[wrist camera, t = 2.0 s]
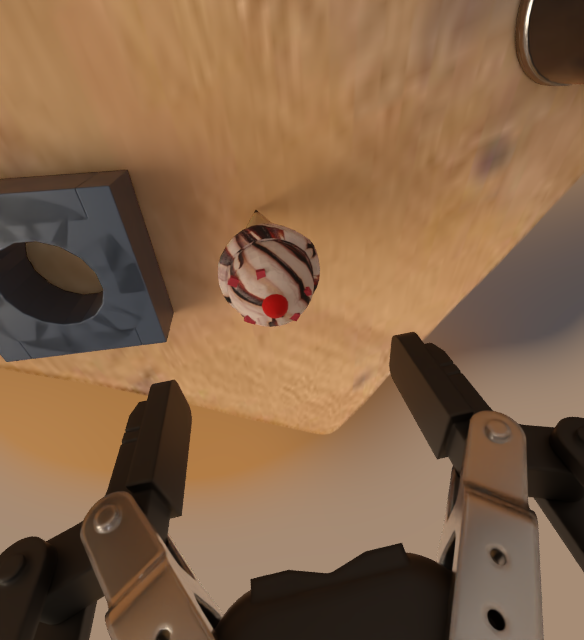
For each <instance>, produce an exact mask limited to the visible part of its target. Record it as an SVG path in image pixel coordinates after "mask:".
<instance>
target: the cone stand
mask: <svg viewBox="0 0 584 640" xmlns="http://www.w3.org/2000/svg"><path fill="white" fill-rule="evenodd" d="M33 241H37V242H41V243H46V244H50V245H54V246H59V247H61V248H63V249H65V250H67V251H68V252H70V253H72V254H74V255H76V256H78V257H79V258H81V259H82V260H83V261H84V262H85V263H86V264H87V265H88V266H89V267H90V268H91V269H92V270H93V271H94V272H95V273H96V275H97V277H98V279H99V281H100V283H101V286H102V288H103V291H102V292H100V293H96V294H87V295H82V294H77V293H72V292H66V291H64V290H62V289H60V288H58V287H56V286H54V285H52V284H49V283H48V282H47V281H46V280H45V279H44V278H42V277H41V276H40V275H39V274H38V273H37V272H36V271H35V270H34V269H33V267H32V265H31V264H30V262H29V260H28V259H27V257H26V249H25V242H33ZM173 313H174V312H173V309H172V306H171V303H170V300H169V297H168V294H167V290H166V287H165V284H164V281H163V278H162V275H161V272H160V269H159V266H158V263H157V260H156V257H155V254H154V250H153V247H152V244H151V241H150V238H149V235H148V232H147V229H146V226H145V223H144V220H143V217H142V214H141V210H140V207H139V204H138V201H137V198H136V195H135V192H134V189H133V186H132V183H131V180H130V177H129V174H128V171H127V170H121V171H107V172H99V173H98V172H93V173H79V174H65V175H51V176H37V177H23V178H9V179H0V355H1V356H2V357H3V358H4V360H5V361H6V362H11V361H19V360H27V359H32V358H33V359H35V358H43V357H51V356H59V355H67V354H75V353H83V352H91V351H99V350H107V349H115V348H123V347H131V346H139V345H142V344H143V345H147V344H155V343H163V342H167V338H168V334H169V330H170V325H171V321H172V317H173Z"/></svg>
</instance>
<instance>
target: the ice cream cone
mask: <svg viewBox="0 0 584 640" xmlns="http://www.w3.org/2000/svg"><path fill="white" fill-rule="evenodd" d="M319 275H320V266H319V259H318V255H317V252H316V249H315V247H314V245H313V244H312V242H311V241H310V240H309V239H308V238H306V237H305V236H303V235H302V234H300V233H298V232H296V231H295V230H292V229H290V228H287V227H285V226H281V225H276V224H272V223H271V222H270V221H269V220H267V219H266V218H265V217H264V216H263V215H262V214H260V213H259V212H258V211H257V210H255V212H254V214H253V216H252V218H251V220H250V221H249V223H248V225H247V227H246V229H244V230H242V231H241V232H239V233H238V234H237V235H235V236H234V237H233V238H232V239H231V241H230V242H229V243H228V244H227V246H226V247H225V249H224V251H223V253H222V255H221V257H220V260H219V263H218V279H219V286H220V289H221V291H222V294H223V296H224V297H225V299H226V300H227V302H228V303H229V304H230V305H231V306H232V307H233V308H235V309H236V310H237V311H238V312H239V313H240V314H241V315H242V316H243V317H244V321H245V322H248V323H251V324H254V325H255V324H257V325H262V326H270V327H272V326H280V325H284V324H287V323H289V322H291V321H293V320H294V321H297V320H298V318H299V317H300V315H301V314H302V313H303V312H304V310H305V309H306V308H307V306H308V304H309V302H310V301H311V298H312V295H313V293H314V292H315V290H316V288H317V285H318V281H319Z"/></svg>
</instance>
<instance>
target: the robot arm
mask: <svg viewBox="0 0 584 640" xmlns="http://www.w3.org/2000/svg"><path fill="white" fill-rule="evenodd" d="M515 41H516V51H517V56H518V60H519V63H520V65H521V67H522V69H523V71H524V72H525V74H526V75H527V76H528V77H529V78H530V79H531V80H533V81H534V82H536V83H538V84H541V85H546V86H567V85H573V84H584V0H521V3H520V6H519V11H518V16H517V22H516V38H515ZM389 367H390V373H391V376H392V379H393V381H394V383H395V384H396V386H397V388H398V390H399V392H400V393H401V395H402V397H403V399H404V401H405V402H406V404H407V406H408V408H409V410H410V411H411V413H412V415H413V417H414V419H415V420H416V422H417V424H418V426H419V428H420V429H421V431H422V433H423V435H424V437H425V438H426V440H427V442H428V444H429V446H430V447H431V449H432V451H433V453H434V455H435V456H436V458H437V459H440V458H445V457H449V459H450V460H451V462H452V464H453V467H452V472H451V479H450V486H449V493H448V501H447V507H446V514H445V520H444V526H443V531H442V534H441V538H440V543H439V548H438V553H437V560H436V562H435V561H433V560H431V559H429V558H426V557H423V556H420V555H417V554H413V553H406V552H405V550H404V547H403V545H402V543H399V544H395V545H391V546H387V547H383V548H378V549H374V550H370V551H366V552H364V553H362V554H361V555H359V556H358V557H356V558H354V559H353V560H351V561H349V562H348V563H346V564H345V565H343V566H341V567H340V568H338V569H337V570H335V571H334V572H331V573H315V572H305V571H293V570H287V571H282V572H279V573H274V574H270V575H266V576H262V577H257V578H254V579H251V590H250V591H248V592H247V593H245V594H244V595H243V596H242V597H240V598H239V599H238V600H237V601H236V602H235V603H234V604H233V605H232V606H231V607H230V608H229V609H228V610H227V612H226V613H225V614H224V615H223V614H222V612H221V610H220V609H219V607H218V606H217V604H216V603H215V602H214V600H213V599H212V597H211V596H210V595H209V593H208V592H207V591H206V590H205V588H204V587H203V586H202V584H201V583H200V581H199V580H198V579H197V577H196V575H195V574H194V572H193V571H192V569H191V568H190V566H189V564H188V563H187V561H186V560H185V558H184V557H183V556H182V554H181V552H180V550H179V549H178V548H177V546H176V544H175V543H174V541H173V540H172V538H171V536H170V535H169V534H168V527H169V520H170V518H175V517H179V516H182V507H183V498H184V489H185V479H186V469H187V461H188V451H189V442H190V433H191V424H192V416H191V410H190V407H189V404H188V402H187V401H186V399H185V397H184V395H183V393H182V391H181V389H180V387H179V385H178V383H177V382H176V381H175V380H171V381H166V382H161V383H156V384H152V386H151V387H150V391H149V395H148V399H147V401H142V402H139V403H138V405H137V406H136V407H135V409H134V410H133V412H132V413H131V414H130V416H129V419H128V423H127V426H126V429H125V431H126V433H124V436H123V439H122V445H121V446H120V449H119V453H118V456H117V460H116V463H115V466H114V470H113V473H112V477H111V480H110V483H109V487H108V490H107V492H106V495H105V496H104V497H103V498H102V499H100V500H99V501H98V502H97V503H95V504H94V506H93V507H92V508H91V509H90V510H89V512H88V513H87V515H86V516H85V518H84V520H83V521H82V522H81V523H79V524H77V525H75V526H74V527H72V528H70V529H68V530H66V531H65V532H63V533H61V534H59V535H57V536H55V537H54V538H52V539H50V540H48V541H44V540H42V539H41V538H39V537H27V538H24V539H21V540H19V541H17V542H16V543H14V544H13V545H11V546H10V547H9V548H7V549H6V550H5V551H4V552H3V553H2V554H1V555H0V640H89V637H90V633H91V628H92V623H93V618H94V613H95V608H96V604H97V600H99V599H100V598H102V597H103V596H105V598H106V601H107V603H108V608H109V610H108V612H107V613H106V615H105V622H106V626H107V630H108V632H109V635H110V637H111V640H544V638H543V616H542V596H541V575H540V553H539V532H538V521H537V516H536V514H535V512H534V511H532V510H530V508H529V505H528V497H534V499H535V500H536V502H537V503H538V504H539V506H540V508H541V509H542V511H543V512H544V514H545V515H546V517H547V518H548V519H549V521H550V523H551V524H552V526H553V527H554V529H555V530H556V532H557V533H558V534H559V536H560V537H561V539H562V540H563V542H564V543H565V545H566V546H567V548H568V549H569V551H570V552H571V554H572V555H573V557H574V558H575V560H576V561H577V563H578V564H579V566H580V567H581V568H582V570H583V572H584V418H579V417H567V418H564V419H562V420H560V421H559V423H558V424H557V425H556V427H555V428H553V427H542V426H529V425H521V424H518V423H517V422H515V421H514V420H513V419H512V418H510V417H508V416H506V415H504V414H502V413H499V412H496V411H493V410H492V409H491V408H490V407H489V406H488V405H487V403H486V402H485V401H484V400H483V398H482V397H481V396H480V395H479V394H478V392H477V391H476V390H475V388H474V387H473V386H472V385H471V384H470V382H469V381H468V380H467V379H466V377H465V376H464V375H463V374H462V373H461V372H460V370H459V369H458V367H457V366H456V365H455V364H453V361H452V360H451V359H450V357H449V356H448V355H447V354H446V353H445V351H443V350H442V349H440V348H439V347H437V346H436V345H434V344H432V343H427V344H424V343H423V342H422V340H421V339H420V338H419V336H418V335H417V334H416V333H415V332H410V333H405V334H400V335H395V336H393V337H392V342H391V352H390V363H389Z"/></svg>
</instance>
